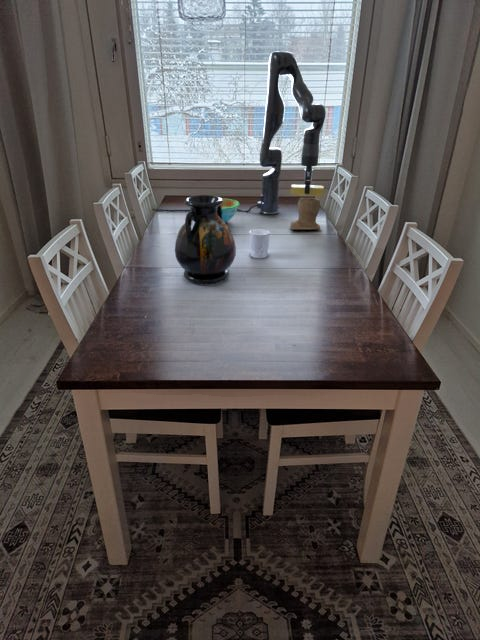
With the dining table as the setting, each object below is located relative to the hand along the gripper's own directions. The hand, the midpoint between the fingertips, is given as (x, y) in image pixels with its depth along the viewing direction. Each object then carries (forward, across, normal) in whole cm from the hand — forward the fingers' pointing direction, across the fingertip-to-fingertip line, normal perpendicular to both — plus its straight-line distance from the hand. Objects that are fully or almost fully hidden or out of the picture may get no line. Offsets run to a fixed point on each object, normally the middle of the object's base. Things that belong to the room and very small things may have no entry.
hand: (307, 192), depth 193 cm
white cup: (+18, +41, -17) cm, 48 cm away
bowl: (+18, -2, -44) cm, 47 cm away
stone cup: (+18, 0, 0) cm, 18 cm away
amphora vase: (+18, +66, -33) cm, 76 cm away
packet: (+1, 0, 0) cm, 1 cm away
